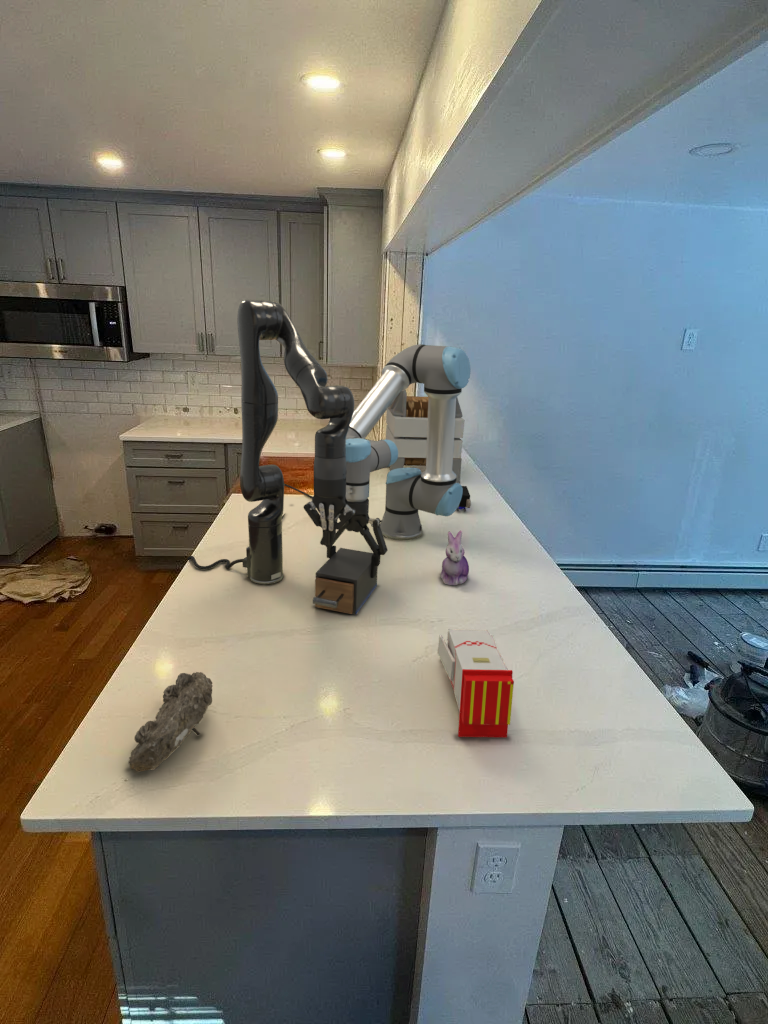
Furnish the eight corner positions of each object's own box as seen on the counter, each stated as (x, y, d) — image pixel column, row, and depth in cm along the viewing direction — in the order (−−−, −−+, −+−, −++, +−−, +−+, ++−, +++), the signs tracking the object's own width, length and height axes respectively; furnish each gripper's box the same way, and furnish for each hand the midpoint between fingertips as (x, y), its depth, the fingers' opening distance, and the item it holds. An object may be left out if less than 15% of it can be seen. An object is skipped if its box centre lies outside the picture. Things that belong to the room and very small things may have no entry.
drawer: (342, 626, 139) (343, 597, 136) (305, 618, 142) (304, 589, 139) (371, 586, 159) (372, 560, 156) (338, 580, 162) (338, 554, 159)
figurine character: (470, 516, 223) (465, 500, 237) (473, 499, 220) (467, 484, 233) (453, 516, 223) (449, 500, 236) (455, 498, 220) (451, 483, 233)
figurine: (450, 589, 161) (455, 540, 156) (431, 574, 170) (435, 528, 165) (477, 583, 166) (482, 536, 161) (457, 569, 174) (462, 523, 169)
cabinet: (356, 614, 146) (357, 580, 143) (315, 606, 149) (315, 572, 146) (377, 585, 162) (378, 553, 159) (339, 578, 165) (340, 547, 162)
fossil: (162, 673, 113) (214, 640, 108) (196, 704, 116) (248, 673, 111) (102, 765, 93) (163, 730, 88) (145, 799, 96) (206, 767, 91)
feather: (292, 507, 224) (294, 503, 223) (275, 531, 197) (278, 527, 197) (288, 505, 224) (291, 501, 223) (271, 528, 197) (273, 524, 197)
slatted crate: (382, 463, 289) (386, 382, 275) (445, 464, 293) (451, 384, 279) (390, 482, 257) (394, 392, 243) (460, 483, 261) (468, 394, 247)
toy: (488, 613, 130) (523, 677, 101) (484, 667, 133) (517, 744, 104) (435, 612, 130) (455, 676, 101) (432, 666, 133) (451, 743, 103)
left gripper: (296, 474, 129) (297, 544, 135) (351, 482, 125) (349, 553, 131) (310, 466, 136) (310, 533, 141) (362, 473, 132) (360, 542, 138)
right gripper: (307, 495, 150) (307, 570, 157) (393, 508, 143) (389, 585, 151) (319, 488, 156) (318, 560, 164) (401, 499, 150) (397, 573, 158)
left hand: (329, 543), depth 136 cm, fingers closed
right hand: (352, 572), depth 157 cm, fingers closed on cabinet, 11 cm apart
